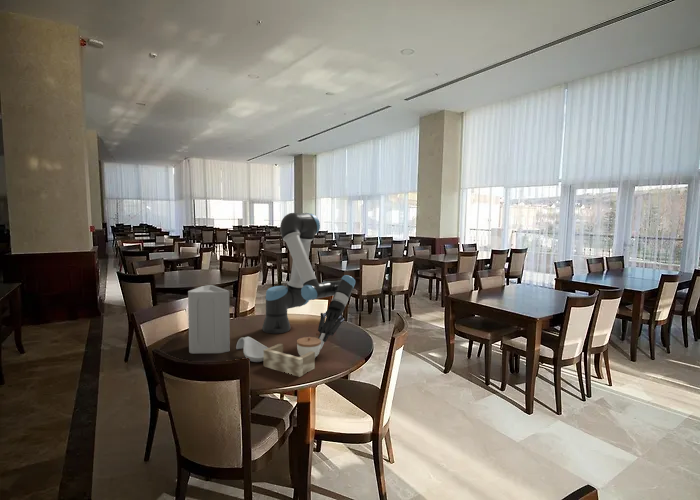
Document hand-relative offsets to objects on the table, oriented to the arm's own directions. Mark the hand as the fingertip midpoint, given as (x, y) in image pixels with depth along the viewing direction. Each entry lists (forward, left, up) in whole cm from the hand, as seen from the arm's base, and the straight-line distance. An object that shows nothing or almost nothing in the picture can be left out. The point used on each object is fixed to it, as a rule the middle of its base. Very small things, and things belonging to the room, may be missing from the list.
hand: (318, 347), depth 175 cm
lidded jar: (-1, -6, -3) cm, 7 cm away
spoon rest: (-24, -18, -4) cm, 30 cm away
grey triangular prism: (-47, -24, -3) cm, 53 cm away
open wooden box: (-1, -19, -3) cm, 19 cm away
